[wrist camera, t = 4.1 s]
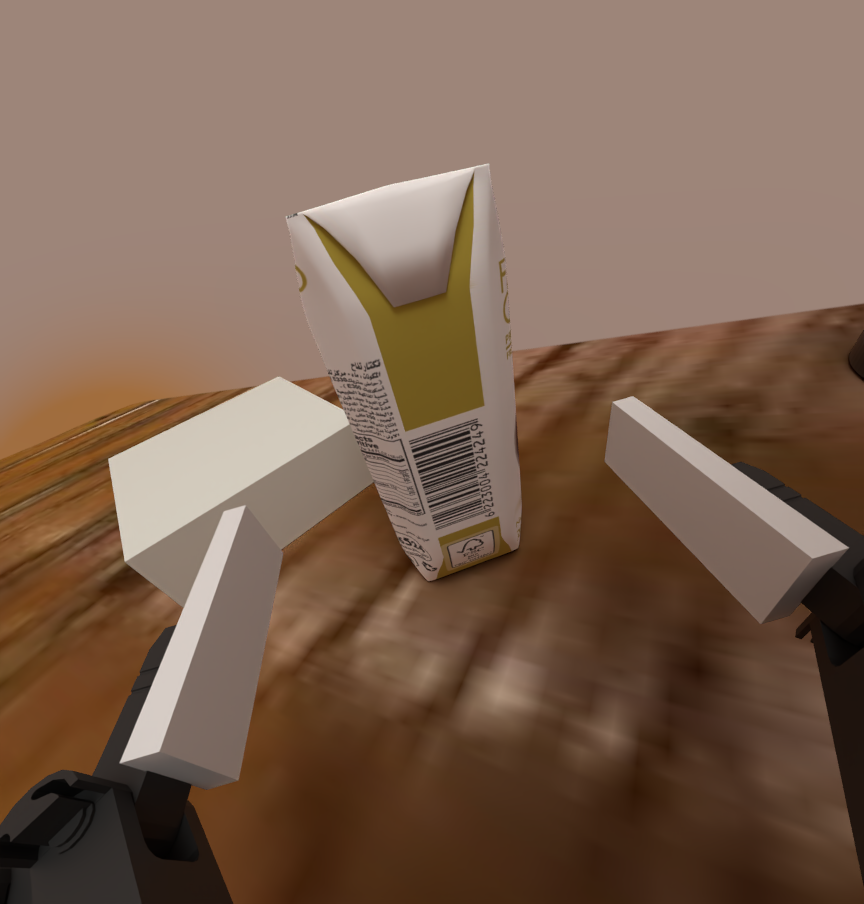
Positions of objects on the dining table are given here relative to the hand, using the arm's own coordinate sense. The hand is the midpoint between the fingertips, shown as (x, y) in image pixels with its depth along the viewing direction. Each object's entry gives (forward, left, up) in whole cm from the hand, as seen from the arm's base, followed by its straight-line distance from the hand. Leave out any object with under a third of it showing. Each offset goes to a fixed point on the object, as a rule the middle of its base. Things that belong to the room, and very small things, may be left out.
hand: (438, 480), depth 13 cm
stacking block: (+4, -22, -10) cm, 25 cm away
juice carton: (-4, -5, -11) cm, 12 cm away
